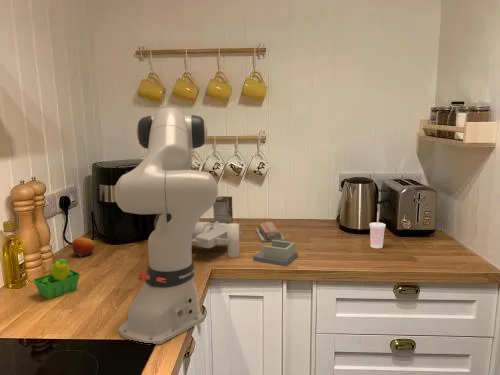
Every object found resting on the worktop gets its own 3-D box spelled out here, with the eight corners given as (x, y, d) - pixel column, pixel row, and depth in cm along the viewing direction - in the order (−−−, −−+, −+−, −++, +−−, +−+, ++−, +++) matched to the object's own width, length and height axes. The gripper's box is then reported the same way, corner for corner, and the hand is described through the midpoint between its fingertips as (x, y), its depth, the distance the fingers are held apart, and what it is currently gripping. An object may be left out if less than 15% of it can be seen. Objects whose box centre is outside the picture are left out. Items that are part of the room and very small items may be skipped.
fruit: (63, 254, 159) (71, 233, 161) (79, 258, 165) (86, 239, 168) (78, 257, 155) (86, 236, 157) (94, 261, 162) (101, 241, 164)
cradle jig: (286, 266, 147) (286, 250, 146) (253, 260, 153) (253, 245, 152) (297, 256, 157) (297, 242, 156) (266, 251, 162) (266, 237, 161)
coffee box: (219, 230, 192) (218, 195, 189) (233, 231, 190) (232, 196, 187) (213, 236, 183) (212, 200, 180) (228, 237, 181) (227, 200, 178)
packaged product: (285, 231, 174) (261, 232, 173) (285, 242, 175) (261, 243, 173) (277, 219, 191) (255, 221, 190) (277, 230, 192) (255, 231, 191)
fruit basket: (70, 283, 135) (66, 249, 133) (84, 290, 130) (81, 255, 128) (33, 295, 127) (29, 259, 125) (47, 303, 121) (43, 266, 119)
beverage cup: (382, 244, 169) (384, 210, 166) (386, 249, 163) (387, 213, 160) (367, 243, 169) (368, 209, 167) (370, 248, 163) (371, 213, 161)
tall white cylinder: (235, 258, 155) (235, 226, 153) (225, 256, 157) (224, 225, 155) (241, 254, 159) (241, 224, 157) (231, 253, 161) (230, 222, 159)
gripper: (187, 232, 153) (220, 237, 147) (217, 219, 171) (247, 223, 165) (188, 249, 154) (220, 254, 148) (217, 234, 172) (247, 238, 166)
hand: (235, 238), depth 157 cm, fingers open, 8 cm apart
